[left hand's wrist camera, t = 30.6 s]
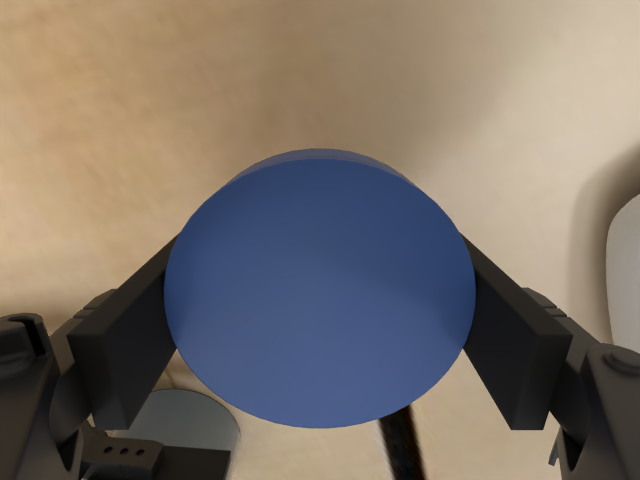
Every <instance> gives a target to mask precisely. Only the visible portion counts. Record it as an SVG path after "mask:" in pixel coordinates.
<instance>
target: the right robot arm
mask: <svg viewBox="0 0 640 480" xmlns="http://www.w3.org/2000/svg"><path fill="white" fill-rule="evenodd" d="M90 414H91V412H90ZM90 414H89V415H88V416H87V418H88V417H89V416H90ZM87 418H86V419H85V420H84V422H83V423H82V424H81V426H80V428H81V431H82V434H83V440H84V442H83V449H82V456H81V463H80V470H79V477H78V480H81V479H88V480H226V476H227V473H228V469H229V465H230V461H231V451H229V450H217V449H204V448H191V447H178V446H165V445H164V444H163V443H160V442H157V441H154V440H144V439H143V440H141V439H135V440H134V439H131V438H118V437H108V435H107V433H106V432H105V431H104V430H97V429H96V427H91V425H90V424H89V422H88V421H87Z"/></svg>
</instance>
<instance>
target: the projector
mask: <svg viewBox="0 0 640 480" xmlns="http://www.w3.org/2000/svg"><path fill="white" fill-rule="evenodd" d="M606 285H607V298H608V310H609V317H610V325H611V332H612V338H613V343H614V345H617V346H621V347H624V348H627V349H630V350H633V351H635V352H637V353H639V354H640V194H639V195H637V196H636V197H634V198H633V199H632V200H630V201H629V202H628V203H627V204H626V205H625V206H624V207H623V208H622V209H621V210H620V211H619V212H618V213H617V214H616V216H615V217H614V219H613V220H612V222H611V225H610V228H609V231H608V237H607V244H606Z"/></svg>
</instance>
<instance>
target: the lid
mask: <svg viewBox="0 0 640 480" xmlns="http://www.w3.org/2000/svg"><path fill="white" fill-rule="evenodd" d="M475 304H476V284H475V274H474V269H473V265H472V261H471V258H470V254H469V252H468V249H467V247H466V245H465V243H464V240H463V238H462V236H461V234H460V233H459V231H458V230H457V228H456V227H455V225H454V223H453V222H452V220H451V219H450V218H449V217H448V215H447V214H446V213H445V212H444V211H443V210H442V209H441V208H440V206H439V205H438V204H437V203H436V202H435V201H433V200H432V199H431V198H430V197H429V196H427V195H426V194H425V193H424V192H423V191H421V190H420V189H419V188H418V187H417V186H415V185H414V184H413V183H412V182H411V181H409V180H408V179H407V178H406V177H404V176H403V175H402V174H401V173H399V172H397V171H396V170H394V169H392V168H391V167H389V166H388V165H386V164H384V163H381V162H379V161H377V160H375V159H372V158H370V157H367V156H364V155H360V154H357V153H353V152H349V151H342V150H335V149H305V150H297V151H291V152H287V153H283V154H279V155H276V156H272V157H270V158H268V159H265V160H263V161H260V162H258V163H256V164H254V165H252V166H251V167H249V168H247V169H246V170H244V171H242V172H241V173H239V174H238V175H237V176H235V177H234V178H233V179H232V180H230V181H229V182H228V183H227V184H226V185H224V186H223V187H222V188H221V189H220V190H218V191H217V192H216V193H215V194H213V195H212V196H211V197H210V198H209V199H207V200H206V201H205V202H204V203H203V204H202V205H201V206H200V207H199V209H198V210H197V211H196V212H195V213H194V214H193V215H192V216H191V217H190V219H189V220H188V222H187V223H186V225H185V226H184V228H183V229H182V231H181V232H180V234H179V236H178V238H177V240H176V242H175V244H174V246H173V249H172V251H171V254H170V257H169V261H168V264H167V268H166V273H165V281H164V308H165V313H166V318H167V323H168V327H169V330H170V333H171V336H172V338H173V341H174V343H175V345H176V347H177V349H178V351H179V353H180V355H181V356H182V358H183V359H184V361H185V362H186V364H187V365H188V366H189V368H190V369H191V370H192V372H193V373H194V374H195V375H196V376H197V377H198V378H199V379H200V381H201V382H202V383H203V384H205V385H206V386H207V387H208V388H209V389H210V390H211V391H212V392H214V393H215V394H216V395H218V396H219V397H221V398H222V399H223V400H225V401H226V402H228V403H229V404H231V405H233V406H235V407H237V408H238V409H240V410H242V411H244V412H246V413H249V414H251V415H253V416H256V417H258V418H261V419H264V420H268V421H271V422H274V423H278V424H283V425H288V426H293V427H303V428H337V427H346V426H351V425H357V424H362V423H365V422H369V421H372V420H376V419H379V418H381V417H384V416H386V415H389V414H391V413H394V412H396V411H397V410H399V409H401V408H403V407H405V406H407V405H409V404H410V403H412V402H413V401H415V400H416V399H418V398H419V397H421V396H422V395H424V394H425V393H426V392H427V391H428V390H429V389H431V388H432V387H433V386H434V385H435V384H436V383H437V382H438V381H439V380H440V379H441V378H442V377H443V376H444V375H445V374H446V372H447V371H448V370H449V369H450V367H451V366H452V365H453V363H454V362H455V360H456V359H457V357H458V356H459V354H460V352H461V350H462V348H463V346H464V344H465V342H466V340H467V337H468V335H469V332H470V329H471V326H472V321H473V316H474V311H475Z"/></svg>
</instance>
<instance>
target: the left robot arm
mask: <svg viewBox="0 0 640 480" xmlns="http://www.w3.org/2000/svg"><path fill="white" fill-rule="evenodd" d="M459 233H460V232H459ZM179 234H180V233H179ZM179 234H178V235H177V236H175V237H174V238H173V239H172V240H171V241H170V242H169V243H168V244H167V245H166V246H164V247H163V248H162V249H161V250H160V251H159V252H158V253H157V254H156V255H154V256H153V257H152V258H151V259H150V260H149V261H148V262H147V263H146V264H144V265H143V266H142V267H141V268H140V269H139V270H138V271H137V272H136V273H134V274H133V275H132V276H131V277H130V278H129V279H128V280H127V281H126V282H124V283H123V284H122V285H121V286H120V287H119V288H118V289H111V290H109V291H107V292H105V293H103V294H101V295H99V296H97V297H95V298H94V299H93V300H92V301H91V302H89V303H88V304H87V305H86V306H85V307H84V308H83V310H80V311H79V312H78V313H77V314H75V315H74V316H73V319H69V320H68V321H67V322H66V323H65V324H64V325H62V326H61V327H60V328H59V329H58V330H57V331H55V332H54V333H53V334H52V335H51V336H50V337H49V336H48V333H47V330H46V328H45V325H44V322H43V319H42V317H41V316H39V315H37V314H34V313H20V314H13V315H8V316H4V317H1V318H0V480H78V477H79V470H80V463H81V456H82V449H83V442H84V440H83V434H82V431H81V428H80V426H81V424H82V423H83V422H84V420H85V419H86V418H87V416H88V415H89V414H90V412H91V414H92V417H93V420H94V423H95V426H96V429H97V430H129V428H130V427H131V425H132V423H133V422H134V420H135V418H136V416H137V415H138V413H139V411H140V410H141V408H142V406H143V405H144V403H145V401H146V400H147V398H148V396H149V394H150V393H151V391H152V389H153V388H154V386H155V384H156V383H157V381H158V379H159V378H160V376H161V374H162V372H163V371H164V369H165V367H166V366H167V364H168V362H169V361H170V359H171V357H172V356H173V354H174V352H175V350H176V349H177V347H176V345H175V343H174V341H173V338H172V336H171V333H170V330H169V327H168V323H167V318H166V313H165V308H164V281H165V273H166V268H167V264H168V261H169V257H170V254H171V251H172V249H173V246H174V244H175V242H176V240H177V238H178V236H179ZM460 234H461V233H460ZM461 236H462V238H463V240H464V243H465V245H466V247H467V249H468V252H469V254H470V258H471V261H472V265H473V269H474V274H475V284H476V304H475V311H474V316H473V321H472V326H471V329H470V332H469V335H468V337H467V340H466V342H465V344H464V346H463V349H464V351H465V353H466V354H467V356H468V358H469V359H470V361H471V363H472V364H473V366H474V368H475V369H476V371H477V373H478V375H479V376H480V378H481V380H482V381H483V383H484V385H485V386H486V388H487V390H488V392H489V393H490V395H491V397H492V398H493V400H494V402H495V403H496V405H497V407H498V408H499V410H500V412H501V414H502V415H503V417H504V419H505V420H506V422H507V424H508V425H509V427H510V429H511V430H543V428H544V425H545V422H546V419H547V416H548V413H549V411H550V412H551V413H552V415H553V416H554V417H555V419H556V420H557V421H558V423H559V424H560V428H559V431H558V434H557V437H556V440H555V443H554V445H553V448H552V451H551V454H550V457H549V463H548V464H550V465H552V466H554V465H555V462H556V459H557V458H558V457H559V462H560V469H561V476H562V480H640V354H639V353H637V352H635V351H633V350H630V349H627V348H624V347H621V346H617V345H611V344H605V343H602V344H601V343H599V342H598V341H597V340H596V339H595V338H594V337H592V336H591V335H590V334H589V333H588V332H586V331H585V330H584V329H583V328H582V327H581V326H579V325H578V324H577V323H576V322H575V321H573V320H572V319H571V318H570V317H567V315H566V314H565V313H564V312H563V311H562V310H560V309H557V306H556V305H555V304H553V303H552V302H551V301H550V300H549V299H547V298H546V297H545V296H543V295H541V294H539V293H537V292H535V291H533V290H531V289H529V288H521V287H520V286H519V285H517V284H516V283H515V282H514V281H513V280H512V279H511V278H510V277H509V276H508V275H506V274H505V273H504V272H503V271H502V270H501V269H500V268H499V267H498V266H496V265H495V264H494V263H493V262H492V261H491V260H490V259H489V258H488V257H486V256H485V255H484V254H483V253H482V252H481V251H480V250H479V249H478V248H476V247H475V246H474V245H473V244H472V243H471V242H470V241H469V240H468V239H466V238H465V237H464V236H463V235H462V234H461Z"/></svg>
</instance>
